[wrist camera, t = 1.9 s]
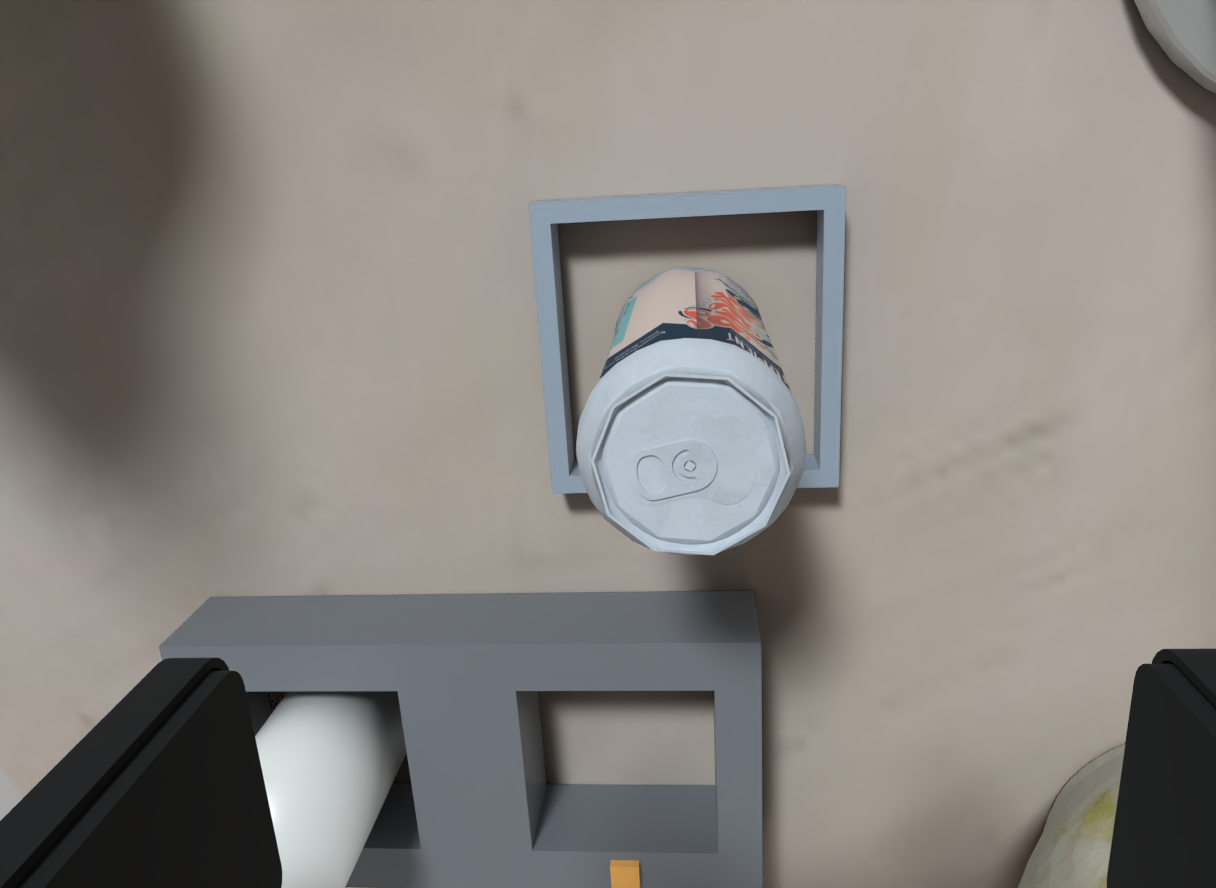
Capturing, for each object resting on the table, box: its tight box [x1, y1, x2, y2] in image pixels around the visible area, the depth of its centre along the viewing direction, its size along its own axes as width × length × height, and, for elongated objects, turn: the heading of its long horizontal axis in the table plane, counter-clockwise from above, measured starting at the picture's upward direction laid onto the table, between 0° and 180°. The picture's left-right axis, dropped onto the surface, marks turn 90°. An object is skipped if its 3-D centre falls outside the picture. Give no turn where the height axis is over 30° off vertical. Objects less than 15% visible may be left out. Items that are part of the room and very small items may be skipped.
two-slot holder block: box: [159, 590, 763, 888], centre depth 31 cm, size 20×10×8 cm, turn 93°
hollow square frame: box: [529, 184, 846, 494], centre depth 29 cm, size 9×9×2 cm
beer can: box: [576, 268, 806, 556], centre depth 24 cm, size 5×5×12 cm
